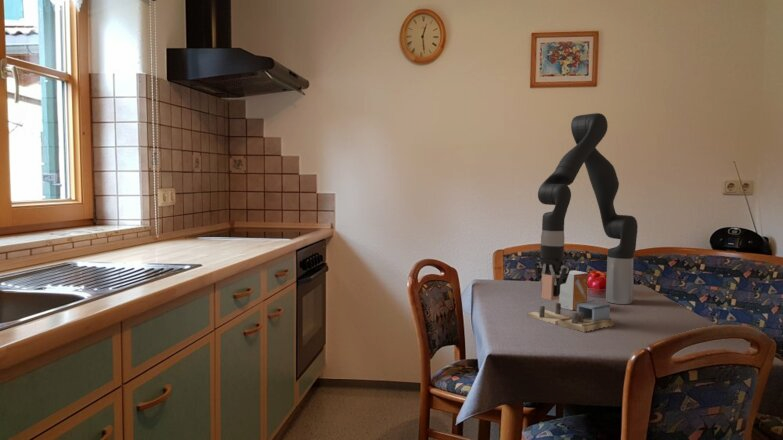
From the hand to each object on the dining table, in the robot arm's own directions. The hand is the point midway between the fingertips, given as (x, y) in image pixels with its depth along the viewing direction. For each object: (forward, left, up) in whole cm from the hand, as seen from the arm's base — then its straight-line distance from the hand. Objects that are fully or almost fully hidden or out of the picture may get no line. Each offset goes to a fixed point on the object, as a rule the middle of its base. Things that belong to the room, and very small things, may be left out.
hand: (550, 294), depth 186 cm
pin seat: (0, 0, -8) cm, 8 cm away
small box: (-20, -6, -8) cm, 22 cm away
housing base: (-3, +12, -8) cm, 15 cm away
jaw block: (0, 0, -1) cm, 1 cm away
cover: (-7, +12, -6) cm, 15 cm away
